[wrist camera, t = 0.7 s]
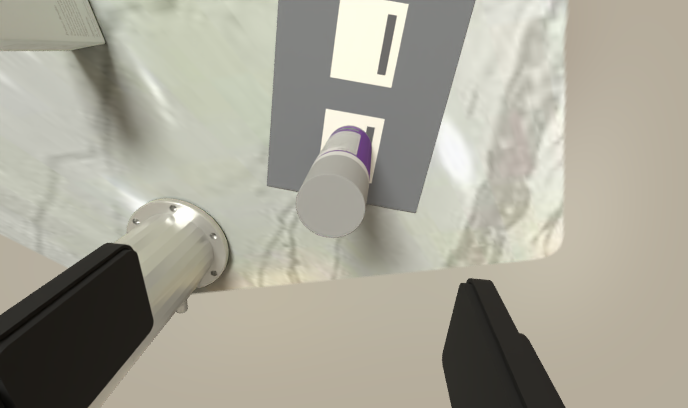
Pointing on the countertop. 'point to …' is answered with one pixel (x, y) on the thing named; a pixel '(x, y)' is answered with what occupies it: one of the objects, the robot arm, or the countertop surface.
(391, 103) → the label mat
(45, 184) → the countertop surface
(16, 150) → the countertop surface
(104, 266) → the robot arm
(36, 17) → the skincare box
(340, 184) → the container
